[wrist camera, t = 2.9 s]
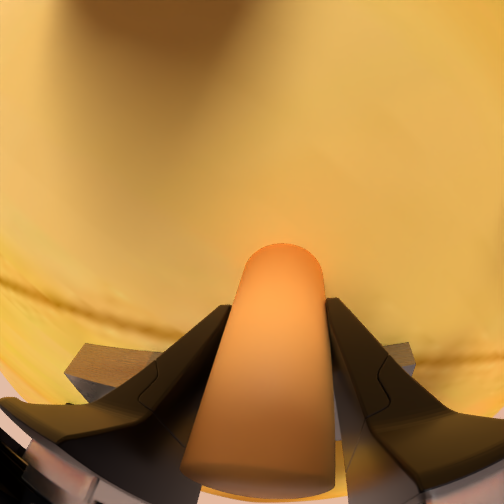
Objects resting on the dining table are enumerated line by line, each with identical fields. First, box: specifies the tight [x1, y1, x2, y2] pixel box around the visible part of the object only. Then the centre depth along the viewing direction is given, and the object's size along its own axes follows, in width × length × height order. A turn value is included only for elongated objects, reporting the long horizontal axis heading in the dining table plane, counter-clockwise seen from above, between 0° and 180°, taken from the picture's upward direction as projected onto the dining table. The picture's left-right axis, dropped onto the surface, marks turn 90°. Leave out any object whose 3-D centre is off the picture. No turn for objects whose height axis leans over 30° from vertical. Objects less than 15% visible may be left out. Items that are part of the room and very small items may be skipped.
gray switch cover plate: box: [64, 343, 153, 403], centre depth 14 cm, size 8×14×4 cm, turn 100°
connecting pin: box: [179, 243, 335, 499], centre depth 8 cm, size 3×3×8 cm
